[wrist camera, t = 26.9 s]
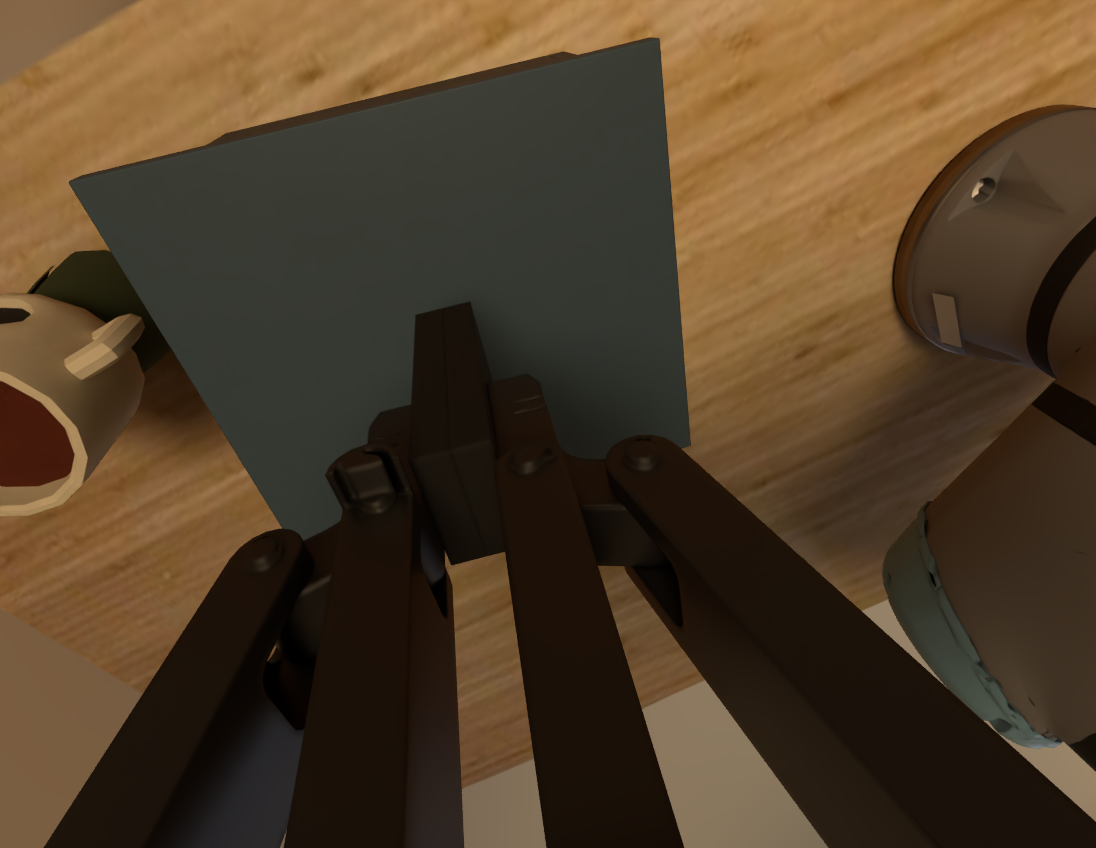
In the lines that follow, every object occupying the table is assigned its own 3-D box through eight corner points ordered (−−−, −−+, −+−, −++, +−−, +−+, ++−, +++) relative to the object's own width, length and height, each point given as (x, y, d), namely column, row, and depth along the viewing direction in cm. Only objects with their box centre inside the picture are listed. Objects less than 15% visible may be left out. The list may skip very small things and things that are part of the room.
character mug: (146, 191, 30) (-7, 287, 19) (251, 308, 34) (172, 441, 23) (-23, 300, 31) (-251, 446, 21) (97, 400, 35) (-44, 566, 25)
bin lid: (80, 175, 17) (66, 181, 17) (651, 37, 18) (660, 37, 17) (298, 537, 26) (295, 551, 25) (684, 435, 26) (691, 446, 26)
